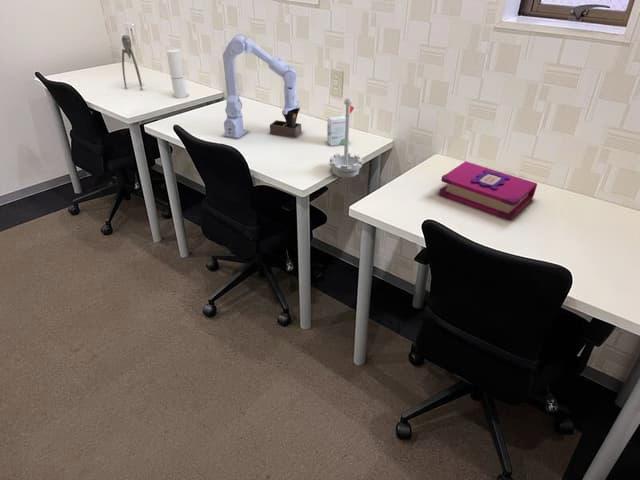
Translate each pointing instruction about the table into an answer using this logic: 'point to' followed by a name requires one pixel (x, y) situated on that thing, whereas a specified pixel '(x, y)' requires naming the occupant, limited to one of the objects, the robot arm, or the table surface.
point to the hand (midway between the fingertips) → (291, 124)
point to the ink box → (336, 130)
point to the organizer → (284, 129)
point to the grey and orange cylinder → (293, 121)
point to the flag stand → (346, 152)
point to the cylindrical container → (176, 73)
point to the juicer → (128, 50)
